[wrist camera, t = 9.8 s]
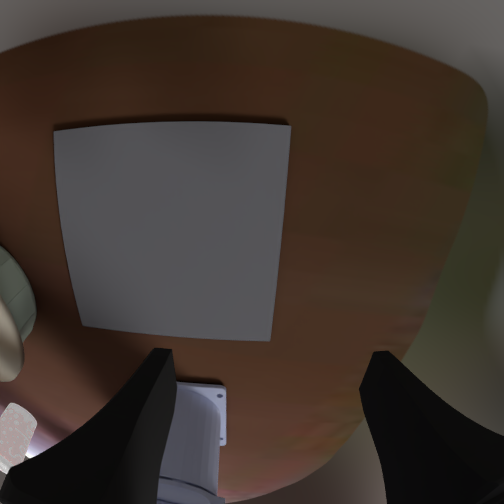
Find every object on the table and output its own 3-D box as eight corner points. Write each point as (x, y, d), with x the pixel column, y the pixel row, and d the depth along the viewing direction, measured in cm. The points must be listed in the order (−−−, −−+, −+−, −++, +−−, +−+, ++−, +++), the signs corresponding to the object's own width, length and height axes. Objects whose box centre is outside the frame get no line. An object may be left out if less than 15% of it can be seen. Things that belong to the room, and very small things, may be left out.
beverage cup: (45, 434, 29) (14, 513, 16) (10, 416, 28) (-25, 489, 15) (37, 411, 27) (-3, 499, 14) (-1, 391, 26) (-44, 470, 13)
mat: (269, 337, 21) (270, 341, 21) (84, 322, 21) (82, 325, 20) (289, 125, 16) (291, 126, 15) (57, 131, 15) (53, 131, 15)
